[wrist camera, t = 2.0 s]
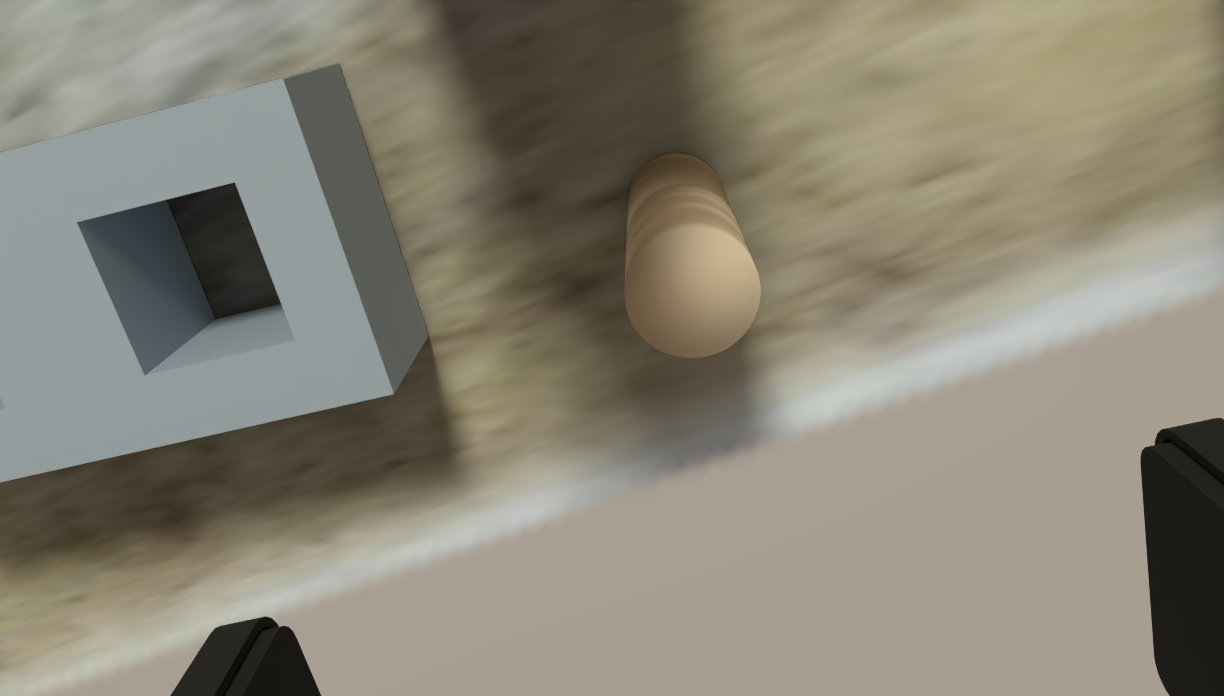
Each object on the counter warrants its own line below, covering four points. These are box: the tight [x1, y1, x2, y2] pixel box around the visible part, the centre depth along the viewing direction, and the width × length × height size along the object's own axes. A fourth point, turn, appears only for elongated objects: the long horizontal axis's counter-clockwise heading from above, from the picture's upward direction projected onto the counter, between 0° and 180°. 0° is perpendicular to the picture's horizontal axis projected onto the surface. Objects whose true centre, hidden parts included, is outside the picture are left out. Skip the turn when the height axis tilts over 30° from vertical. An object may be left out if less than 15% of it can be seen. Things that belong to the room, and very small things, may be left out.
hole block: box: [0, 64, 429, 482], centre depth 30 cm, size 18×9×5 cm, turn 104°
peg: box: [624, 153, 761, 358], centre depth 26 cm, size 3×3×10 cm
